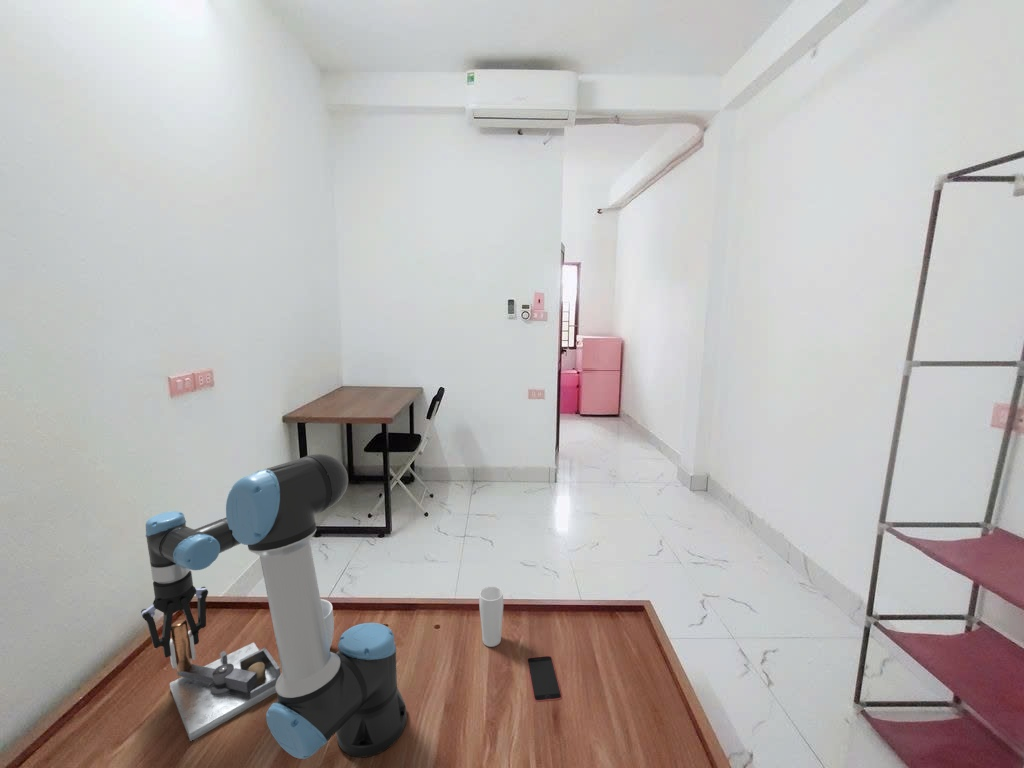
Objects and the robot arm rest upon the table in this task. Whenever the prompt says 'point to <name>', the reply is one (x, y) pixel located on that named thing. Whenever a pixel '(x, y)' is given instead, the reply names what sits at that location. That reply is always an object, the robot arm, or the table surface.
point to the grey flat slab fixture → (222, 692)
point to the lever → (218, 676)
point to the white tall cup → (491, 615)
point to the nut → (258, 671)
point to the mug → (328, 619)
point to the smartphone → (543, 679)
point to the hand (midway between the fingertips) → (183, 660)
